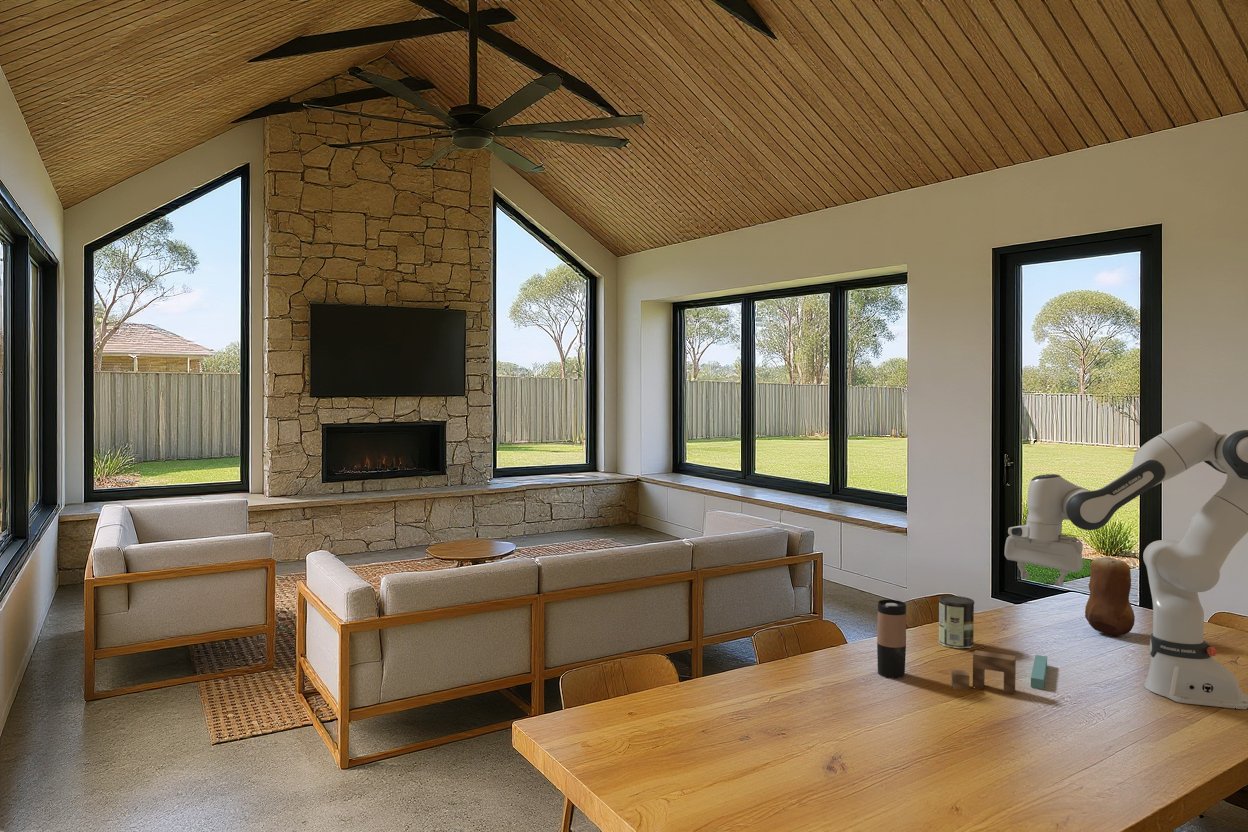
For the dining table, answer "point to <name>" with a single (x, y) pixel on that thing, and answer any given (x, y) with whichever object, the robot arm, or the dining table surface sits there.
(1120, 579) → the butternut squash
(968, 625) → the coffee can
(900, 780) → the dining table surface
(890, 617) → the travel mug
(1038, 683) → the teal square bar
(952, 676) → the bead cube
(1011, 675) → the wooden u-shaped block
